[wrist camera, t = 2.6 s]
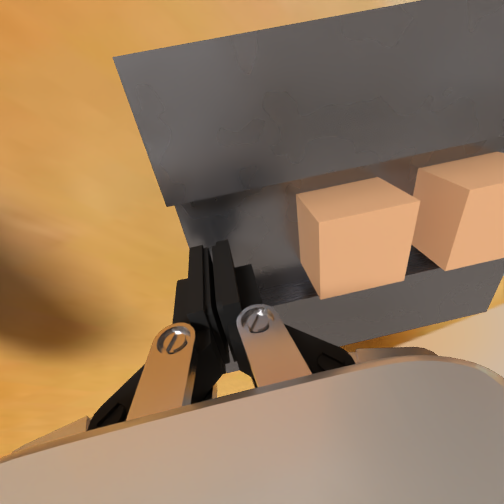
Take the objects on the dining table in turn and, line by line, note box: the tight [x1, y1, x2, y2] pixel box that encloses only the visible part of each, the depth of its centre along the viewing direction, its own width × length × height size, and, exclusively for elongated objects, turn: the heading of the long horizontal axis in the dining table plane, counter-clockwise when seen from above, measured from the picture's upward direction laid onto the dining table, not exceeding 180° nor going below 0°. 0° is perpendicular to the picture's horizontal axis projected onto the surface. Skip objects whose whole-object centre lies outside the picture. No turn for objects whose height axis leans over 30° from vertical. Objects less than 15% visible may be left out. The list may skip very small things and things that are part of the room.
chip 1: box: [296, 177, 420, 300], centre depth 13 cm, size 4×4×3 cm
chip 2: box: [412, 152, 504, 271], centre depth 13 cm, size 4×4×3 cm
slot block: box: [113, 0, 504, 373], centre depth 15 cm, size 17×16×4 cm
